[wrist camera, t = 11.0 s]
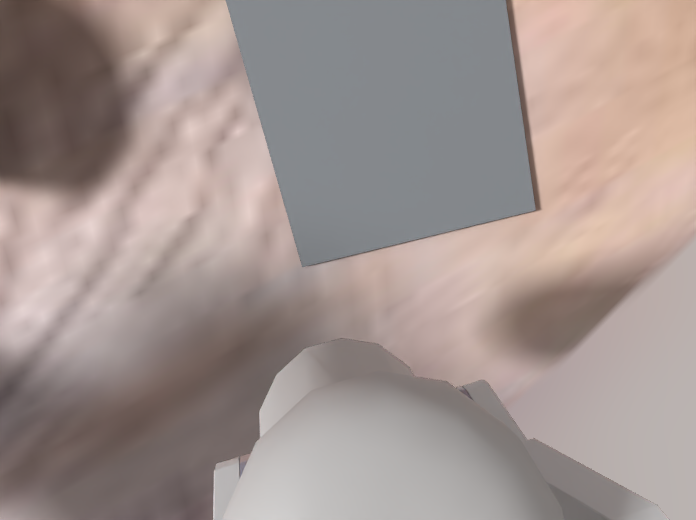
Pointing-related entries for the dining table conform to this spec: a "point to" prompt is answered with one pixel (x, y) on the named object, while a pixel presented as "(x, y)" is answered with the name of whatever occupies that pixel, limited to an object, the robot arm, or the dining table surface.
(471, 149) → the mat
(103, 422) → the dining table surface
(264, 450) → the salt shaker
